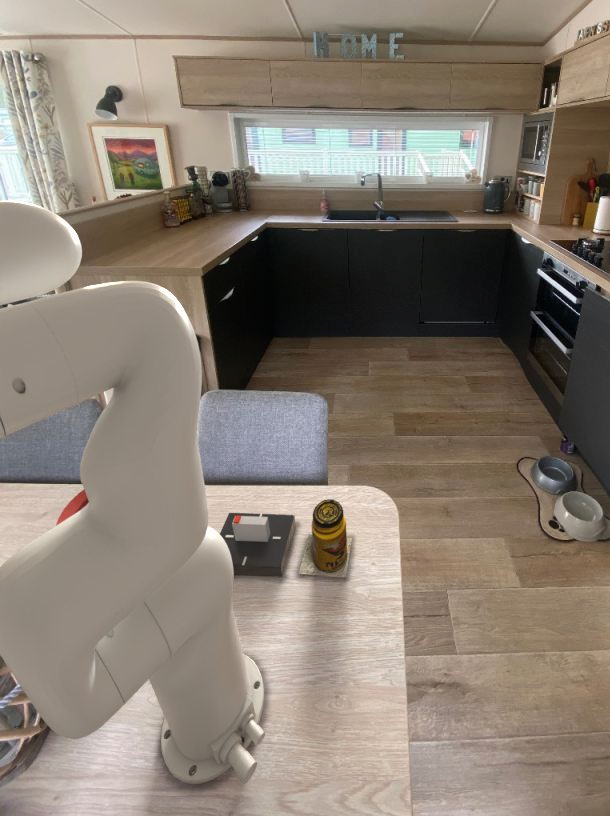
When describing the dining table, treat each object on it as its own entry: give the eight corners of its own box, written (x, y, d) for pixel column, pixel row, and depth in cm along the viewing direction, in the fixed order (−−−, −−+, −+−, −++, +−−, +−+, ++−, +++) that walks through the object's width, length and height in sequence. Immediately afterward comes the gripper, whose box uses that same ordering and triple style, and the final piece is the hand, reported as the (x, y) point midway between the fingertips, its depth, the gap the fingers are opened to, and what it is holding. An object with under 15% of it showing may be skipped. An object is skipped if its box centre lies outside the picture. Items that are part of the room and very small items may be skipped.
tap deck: (295, 524, 77) (294, 513, 76) (282, 577, 68) (280, 566, 67) (231, 522, 78) (229, 511, 77) (208, 575, 68) (205, 563, 67)
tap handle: (270, 533, 72) (267, 515, 71) (267, 542, 71) (265, 523, 69) (238, 532, 73) (235, 514, 71) (235, 540, 71) (231, 522, 69)
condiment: (346, 577, 68) (344, 530, 63) (298, 574, 69) (293, 527, 64) (352, 538, 75) (350, 493, 70) (308, 535, 75) (304, 490, 71)
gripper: (-117, 336, 47) (-56, 445, 54) (54, 293, 61) (86, 385, 67) (-127, 321, 51) (-69, 424, 58) (36, 284, 64) (68, 372, 71)
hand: (14, 403), depth 63 cm, fingers open, 9 cm apart
